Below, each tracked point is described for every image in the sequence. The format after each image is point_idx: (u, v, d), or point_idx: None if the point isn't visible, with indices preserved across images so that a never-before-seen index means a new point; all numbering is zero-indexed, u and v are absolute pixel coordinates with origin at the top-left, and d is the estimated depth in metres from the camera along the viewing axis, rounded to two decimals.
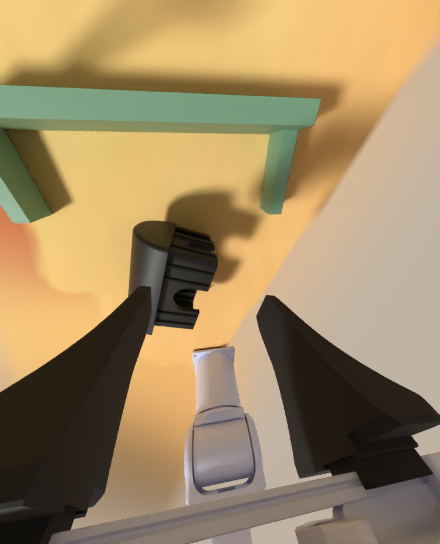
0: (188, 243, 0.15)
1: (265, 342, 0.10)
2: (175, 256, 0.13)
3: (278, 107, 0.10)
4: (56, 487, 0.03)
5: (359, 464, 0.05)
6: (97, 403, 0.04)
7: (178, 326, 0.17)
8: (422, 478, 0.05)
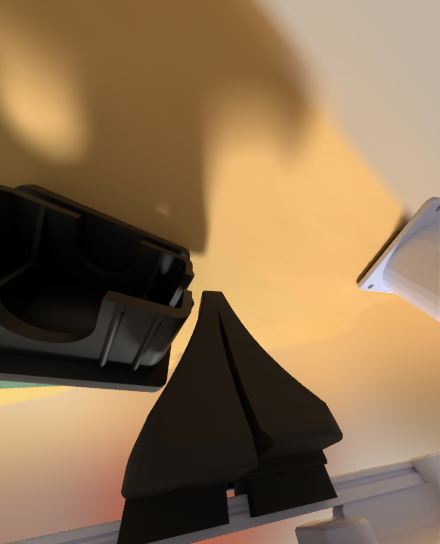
0: None
1: None
2: None
3: None
4: None
5: (249, 486, 0.04)
6: None
7: (161, 341, 0.07)
8: (422, 478, 0.05)
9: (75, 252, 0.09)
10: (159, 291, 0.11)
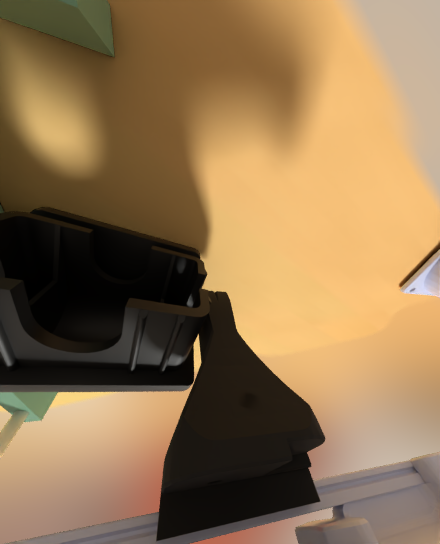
0: None
1: (200, 342, 0.09)
2: None
3: None
4: None
5: (229, 489, 0.04)
6: None
7: (184, 341, 0.07)
8: (422, 478, 0.05)
9: (92, 265, 0.09)
10: (175, 293, 0.11)
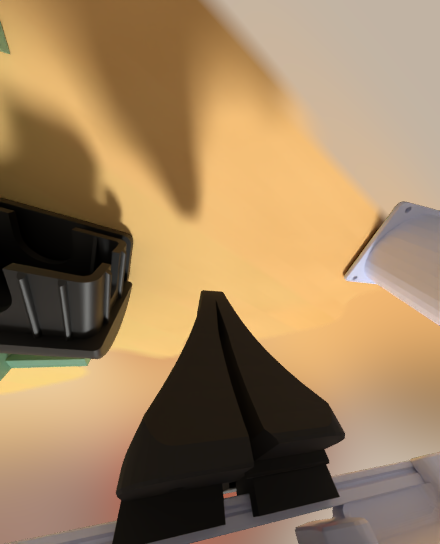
0: None
1: None
2: None
3: None
4: None
5: (251, 485, 0.04)
6: None
7: (79, 307, 0.08)
8: (422, 478, 0.05)
9: (19, 245, 0.10)
10: None
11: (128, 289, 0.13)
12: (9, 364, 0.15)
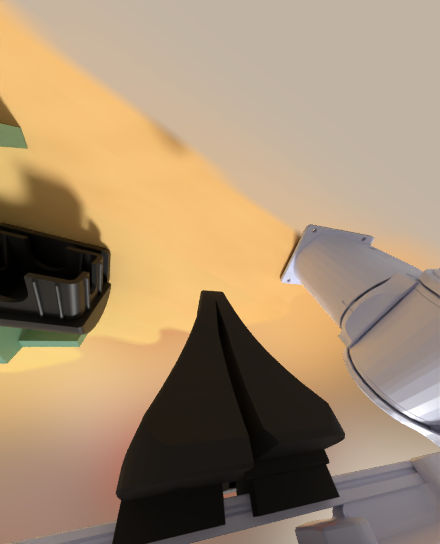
0: None
1: None
2: None
3: None
4: None
5: (251, 485, 0.04)
6: None
7: (68, 299, 0.13)
8: (422, 478, 0.05)
9: (30, 258, 0.15)
10: (90, 278, 0.17)
11: (107, 288, 0.18)
12: (21, 343, 0.20)
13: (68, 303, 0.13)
